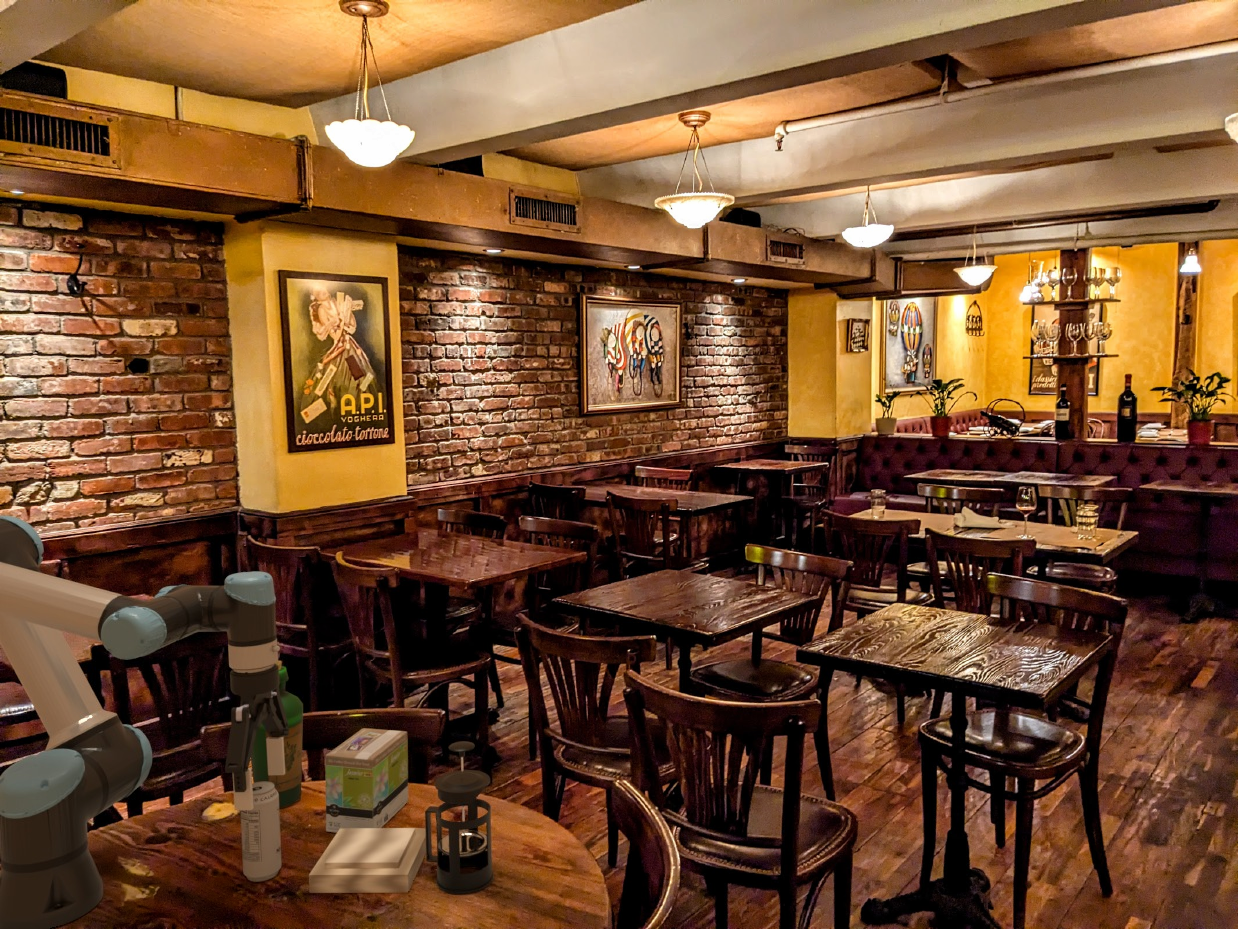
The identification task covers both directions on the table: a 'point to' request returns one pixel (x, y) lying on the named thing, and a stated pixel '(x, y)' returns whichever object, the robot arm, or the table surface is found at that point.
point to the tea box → (366, 779)
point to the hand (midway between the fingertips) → (261, 791)
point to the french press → (461, 845)
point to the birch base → (369, 861)
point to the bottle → (291, 780)
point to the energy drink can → (261, 834)
